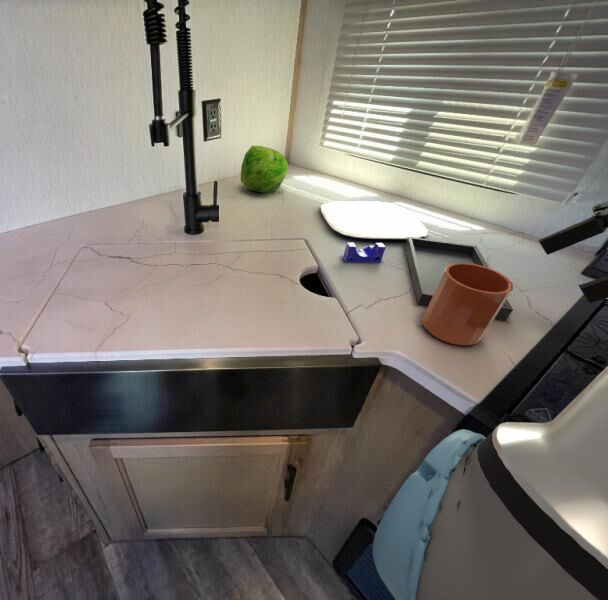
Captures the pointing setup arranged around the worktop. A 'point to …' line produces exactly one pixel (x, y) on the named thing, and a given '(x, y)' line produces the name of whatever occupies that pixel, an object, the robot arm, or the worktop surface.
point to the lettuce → (263, 169)
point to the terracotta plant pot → (465, 303)
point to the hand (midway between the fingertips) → (560, 268)
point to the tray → (440, 266)
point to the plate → (372, 220)
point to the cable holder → (364, 253)
